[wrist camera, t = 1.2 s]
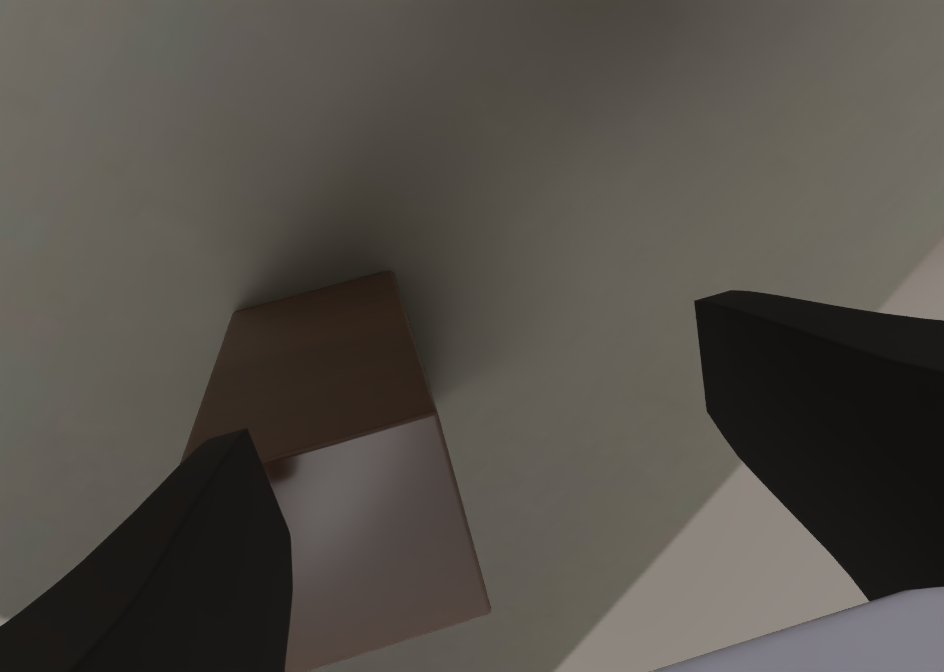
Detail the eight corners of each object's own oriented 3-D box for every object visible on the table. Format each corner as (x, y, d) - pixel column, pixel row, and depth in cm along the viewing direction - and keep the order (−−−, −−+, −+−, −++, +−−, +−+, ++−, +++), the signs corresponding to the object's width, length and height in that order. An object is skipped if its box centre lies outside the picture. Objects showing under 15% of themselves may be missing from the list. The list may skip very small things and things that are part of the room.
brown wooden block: (430, 408, 23) (493, 614, 14) (283, 451, 22) (259, 688, 14) (391, 268, 21) (437, 410, 13) (231, 312, 20) (169, 488, 12)
